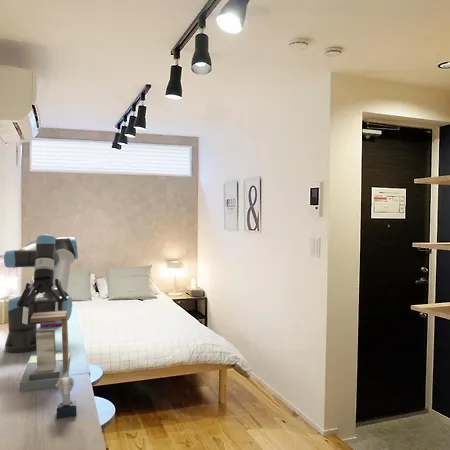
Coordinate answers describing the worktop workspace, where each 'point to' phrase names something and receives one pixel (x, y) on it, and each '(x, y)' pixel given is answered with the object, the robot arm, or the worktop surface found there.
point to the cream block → (45, 349)
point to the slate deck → (43, 374)
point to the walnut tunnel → (58, 317)
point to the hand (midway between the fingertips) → (40, 321)
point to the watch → (66, 398)
